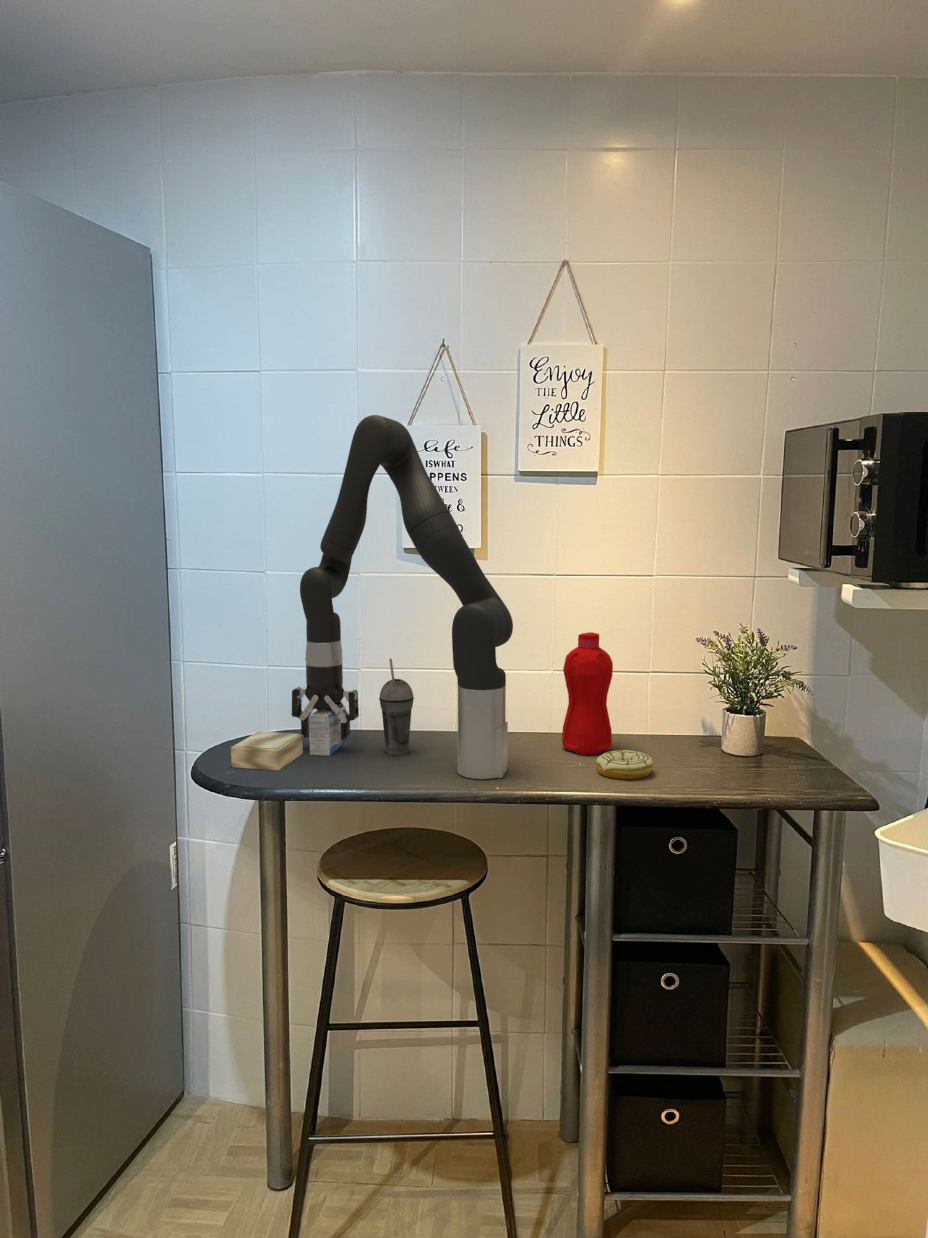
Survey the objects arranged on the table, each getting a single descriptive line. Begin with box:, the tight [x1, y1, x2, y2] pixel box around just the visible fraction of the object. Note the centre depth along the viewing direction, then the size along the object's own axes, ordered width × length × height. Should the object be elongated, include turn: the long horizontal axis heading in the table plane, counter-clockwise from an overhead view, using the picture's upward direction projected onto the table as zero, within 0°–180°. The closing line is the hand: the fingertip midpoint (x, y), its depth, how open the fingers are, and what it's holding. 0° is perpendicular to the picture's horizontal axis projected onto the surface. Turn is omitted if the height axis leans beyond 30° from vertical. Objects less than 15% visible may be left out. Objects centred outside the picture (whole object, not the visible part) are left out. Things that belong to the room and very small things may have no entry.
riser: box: [230, 731, 304, 771], centre depth 177 cm, size 10×12×4 cm
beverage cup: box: [378, 658, 415, 756], centre depth 182 cm, size 7×7×20 cm
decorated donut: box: [596, 749, 654, 780], centre depth 169 cm, size 10×11×4 cm
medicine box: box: [308, 709, 343, 757], centre depth 184 cm, size 8×4×9 cm, turn 168°
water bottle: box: [561, 631, 614, 756], centre depth 184 cm, size 9×11×25 cm
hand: (325, 738), depth 184 cm, fingers open, 8 cm apart
